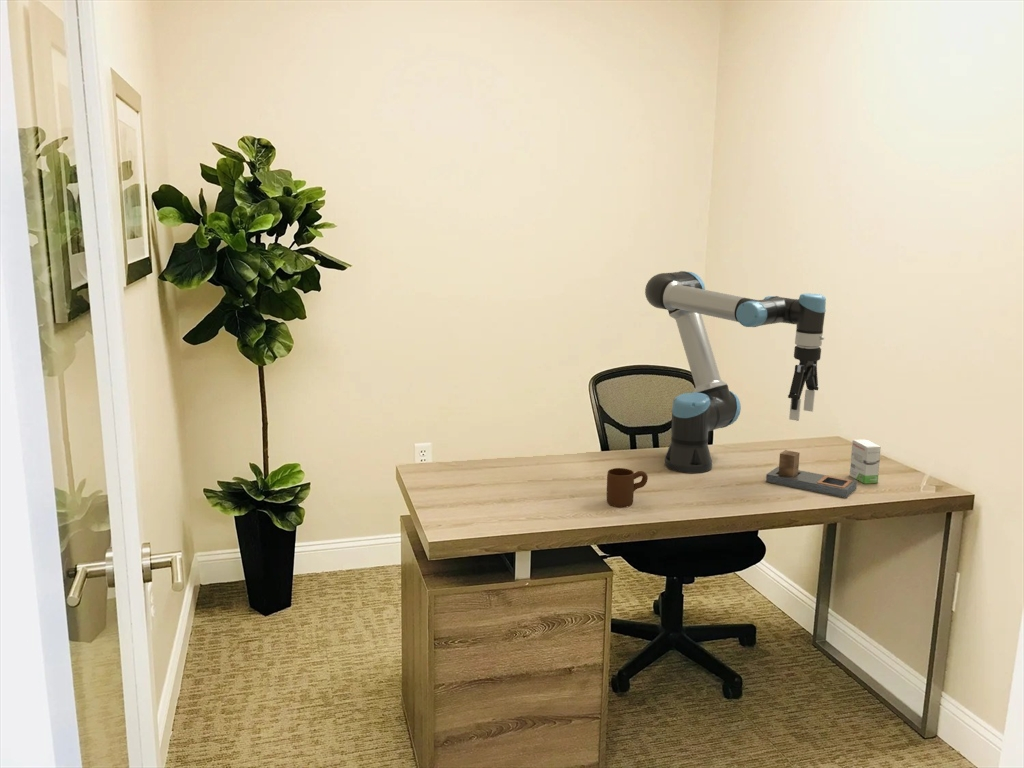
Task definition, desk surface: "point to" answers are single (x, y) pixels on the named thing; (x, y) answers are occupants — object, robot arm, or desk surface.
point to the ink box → (865, 461)
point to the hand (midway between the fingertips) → (801, 415)
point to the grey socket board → (814, 482)
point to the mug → (623, 486)
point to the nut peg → (789, 463)
